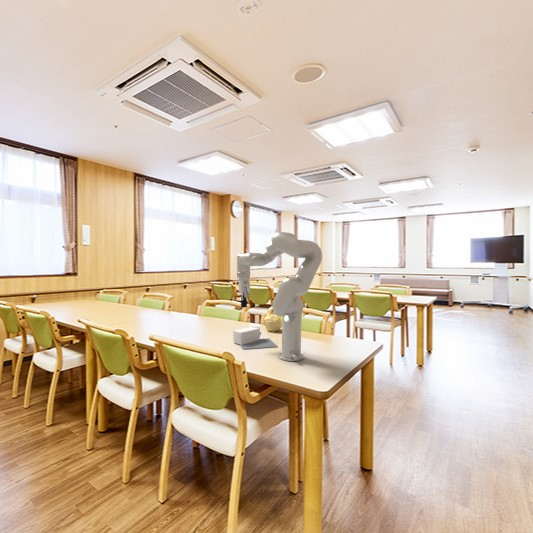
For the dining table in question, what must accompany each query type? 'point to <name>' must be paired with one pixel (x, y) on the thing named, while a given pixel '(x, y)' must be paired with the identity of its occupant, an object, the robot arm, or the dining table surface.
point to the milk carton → (246, 335)
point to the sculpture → (272, 323)
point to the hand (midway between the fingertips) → (244, 307)
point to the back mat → (259, 344)
